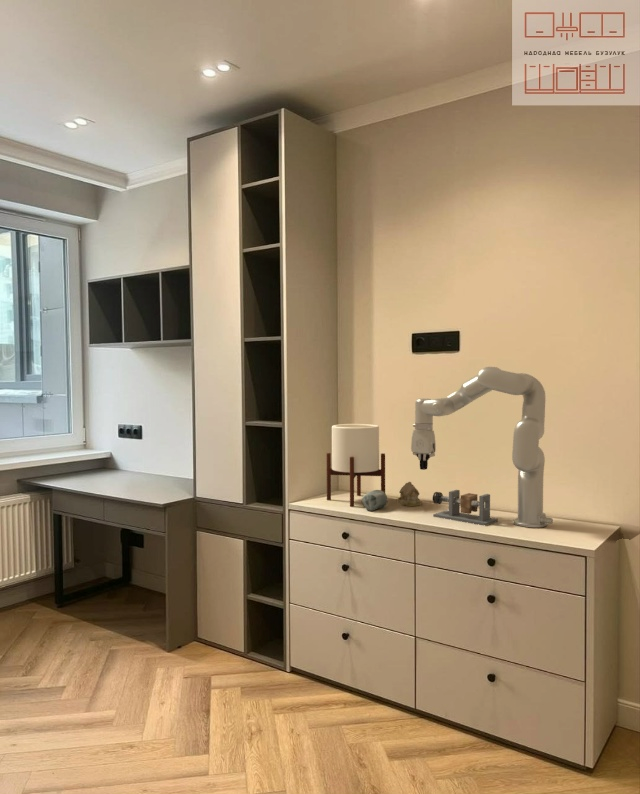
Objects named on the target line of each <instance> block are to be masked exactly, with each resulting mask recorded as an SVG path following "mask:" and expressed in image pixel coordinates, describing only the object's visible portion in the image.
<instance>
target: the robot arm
mask: <svg viewBox="0 0 640 794" xmlns="http://www.w3.org/2000/svg"><path fill="white" fill-rule="evenodd" d="M492 391H496V392H499V393H502V394H503V393H504V394H507V395H513V396H521V395H522V398H523V401H522V408H521V409H522V410H521V413H522V414H521V420H519V421H518V422H517V423H516V425H515V427H514V430H513V437H512V438H513V439H512V440H513V441H512V452H511V453H512V454H511V457H512V458H511V459H512V464H513V466H514V467H515V468H516V469H517V470H518V472H517V473H518V474H517V518H514V519H513V525H515V526H519V527H523V528H545V527H547V526H548V524H553V522H554V520H553V518H552V517H547V515H546V513H544V475H545V474H544V472H545V471H544V470H545V461H546V458H545V454H544V451H543V450H542V448H540V447H539V444H540V440H541V438H542V437H543V435H544V434H545V423H546V422H545V417H546V416H545V415H546V391H545V388H544V386H543V384H542V383H541V381H540V380H539V379H537V378H536V377H535V376H533V375H531V374H528V373H523V372H522V373H518V372H517V373H516V372H513V371H512V372H511V371H507V370H502V369H501V368H499V367H497V366H485V367H483V368H481V369H480V370H479V371H478V373H477V374H476V375H474V376H473V377H471V378H469V379H467V380H466V381H464V382H462V383H461V385H460V387H459V388H458V389H457V390H455V392H453V393H451V394H449V395H448V396H445V397H441V398H435V399H431V398H416V400H415V403H414V405H415V406H414V408H415V411H414V415H415V416H414V423H413V424H412V427H414V429H413V431H412V435H411V443H410V444H411V445H410V450H411V452H412V454H413V455H414V456H416V457H417V459H418V460H419V469H420V470H422V471H423V470H428V466H429V465H428V464H429V462H428V461H429V460H430V458H432V457H436V451H437V449H436V447H437V444H436V434H435V430H433V428H434V427H433V424H434V423H433V421H434V420H433V419H434V418H433V417H444V416H449V415H452V414H453V413H455V412H457V411H459V410H461V409H463V408H464V407H466V406H467V405H469V404H471V403H473V402H474V401H476V400H478V399H479V398H481V397H483V396H485V395H486V394H488V393H490V392H492Z"/></svg>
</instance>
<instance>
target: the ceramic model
mask: <svg viewBox="0 0 640 794" xmlns="http://www.w3.org/2000/svg"><path fill="white" fill-rule="evenodd" d="M399 494H400V495H399V496H400V497H398V498H397V502H396V503H397V504H399V505H402V506H406V507H414V506H421V505H422V502H421V499H420V498H419V495H420V492H419V490H418V489H417V488H416V487H415V485H414V484H412V481H408V482H405V484H404V485H403V486H402V487H400V490H399Z"/></svg>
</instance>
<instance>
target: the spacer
mask: <svg viewBox="0 0 640 794" xmlns="http://www.w3.org/2000/svg"><path fill="white" fill-rule="evenodd" d="M460 498H461V504H460V513H465V514H471V515H472V512H475V513H477V512H478V507H474V506H471V501H473V500H474V501H478V494H477V493H470V492H469V493H464V494H460Z"/></svg>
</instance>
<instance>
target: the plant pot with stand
mask: <svg viewBox="0 0 640 794" xmlns="http://www.w3.org/2000/svg"><path fill="white" fill-rule="evenodd" d="M331 476H349V507H351V508H352V507H355V478H356V496H359V497H360V496H361V495H362V488H361V487H362V485H361V484H362V478H361V477H380V490H381V491H383V492H384V493H385V494H386V453H380V426H379V425H377V424H367V423H344V424H343V423H342V424H341V423H340V424H334V425H332V426H331V452H326V500H327V501H331V500H332V499H331V498H332V477H331Z"/></svg>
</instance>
